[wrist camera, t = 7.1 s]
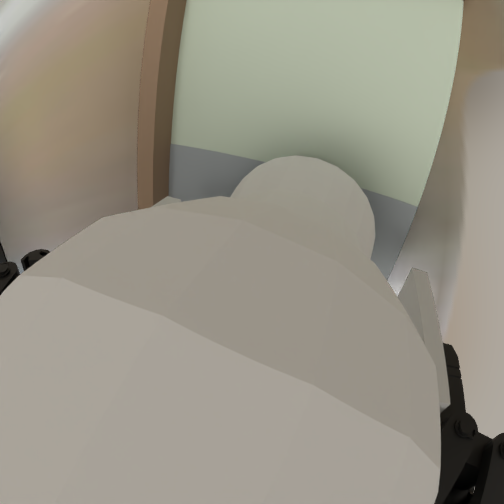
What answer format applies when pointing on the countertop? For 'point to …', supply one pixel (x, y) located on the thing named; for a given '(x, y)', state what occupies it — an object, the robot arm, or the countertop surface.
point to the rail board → (297, 97)
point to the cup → (219, 357)
